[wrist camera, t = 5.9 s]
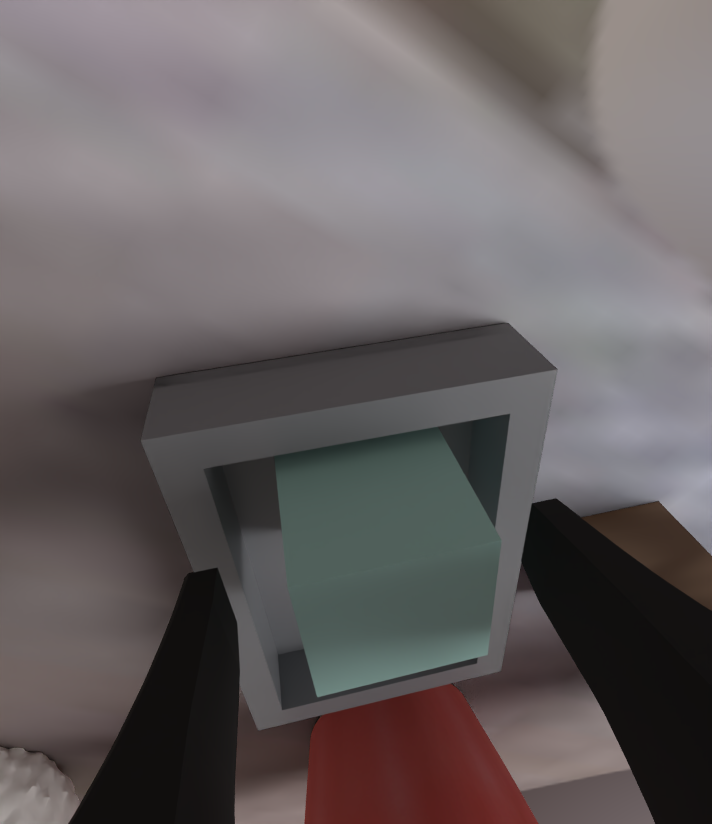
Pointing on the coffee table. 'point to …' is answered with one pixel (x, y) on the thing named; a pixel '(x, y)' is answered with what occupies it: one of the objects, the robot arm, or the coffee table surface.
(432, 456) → the teal block
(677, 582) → the walnut block
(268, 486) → the tray
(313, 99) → the coffee table surface
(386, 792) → the flower pot
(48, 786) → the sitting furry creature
